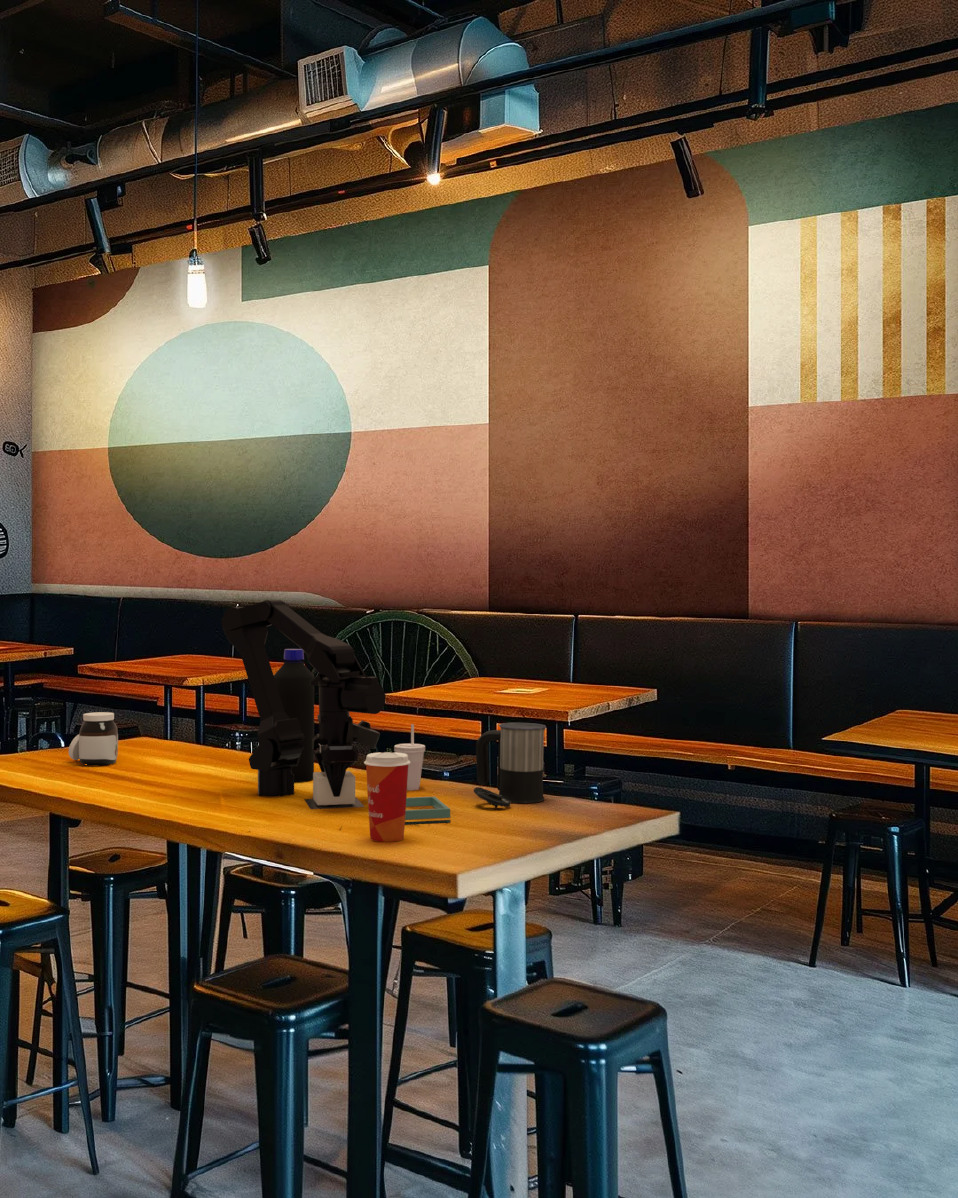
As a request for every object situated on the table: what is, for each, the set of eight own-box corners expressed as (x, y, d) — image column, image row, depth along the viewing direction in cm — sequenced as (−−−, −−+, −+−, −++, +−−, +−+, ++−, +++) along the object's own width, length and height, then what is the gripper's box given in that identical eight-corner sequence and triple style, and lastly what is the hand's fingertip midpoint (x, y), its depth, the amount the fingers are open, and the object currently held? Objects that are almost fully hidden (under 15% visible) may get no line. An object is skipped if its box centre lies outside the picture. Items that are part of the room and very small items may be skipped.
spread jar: (108, 767, 272) (108, 716, 272) (58, 767, 272) (58, 716, 272) (124, 759, 284) (124, 710, 284) (77, 759, 284) (77, 710, 284)
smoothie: (420, 797, 238) (421, 726, 237) (389, 795, 239) (390, 725, 239) (428, 791, 244) (429, 722, 244) (398, 790, 245) (398, 721, 245)
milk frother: (543, 795, 240) (544, 722, 240) (549, 811, 224) (550, 732, 224) (472, 795, 240) (473, 721, 239) (473, 811, 224) (474, 732, 224)
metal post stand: (310, 814, 219) (310, 779, 219) (304, 804, 229) (304, 770, 229) (364, 812, 222) (364, 777, 222) (355, 802, 231) (356, 768, 231)
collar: (317, 805, 221) (317, 778, 221) (313, 798, 228) (313, 772, 228) (355, 803, 223) (355, 777, 223) (349, 797, 230) (349, 771, 229)
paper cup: (364, 833, 203) (364, 751, 203) (409, 833, 204) (409, 751, 204) (363, 844, 195) (363, 758, 195) (410, 843, 196) (411, 758, 196)
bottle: (264, 781, 255) (265, 650, 254) (286, 774, 263) (286, 647, 262) (300, 784, 251) (301, 651, 251) (321, 777, 260) (321, 648, 259)
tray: (381, 826, 209) (381, 812, 209) (369, 812, 221) (369, 799, 221) (450, 823, 212) (450, 809, 212) (434, 809, 224) (434, 796, 224)
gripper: (385, 715, 218) (385, 800, 218) (368, 704, 236) (368, 783, 236) (324, 716, 215) (324, 802, 215) (311, 705, 233) (311, 785, 233)
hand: (333, 793), depth 225 cm, fingers closed on collar, 7 cm apart
